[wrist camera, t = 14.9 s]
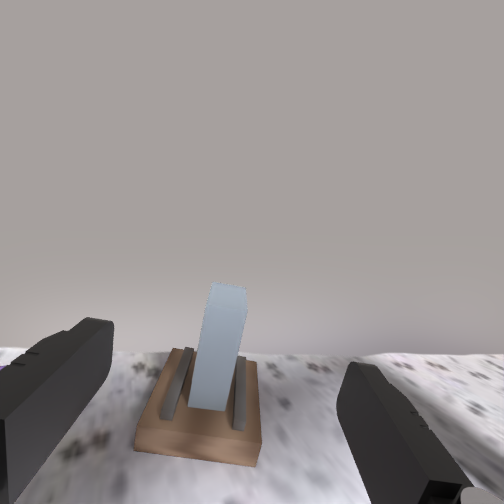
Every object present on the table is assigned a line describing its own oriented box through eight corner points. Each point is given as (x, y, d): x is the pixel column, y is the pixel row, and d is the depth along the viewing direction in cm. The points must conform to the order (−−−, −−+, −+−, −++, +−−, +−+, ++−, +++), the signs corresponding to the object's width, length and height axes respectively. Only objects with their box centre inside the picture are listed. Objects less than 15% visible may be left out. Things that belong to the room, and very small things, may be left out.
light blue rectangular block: (227, 372, 33) (245, 287, 30) (224, 411, 27) (247, 311, 24) (195, 367, 32) (211, 281, 30) (186, 406, 26) (205, 304, 24)
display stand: (252, 379, 37) (258, 354, 36) (255, 467, 25) (264, 433, 24) (169, 366, 36) (174, 340, 35) (133, 450, 24) (138, 415, 23)
